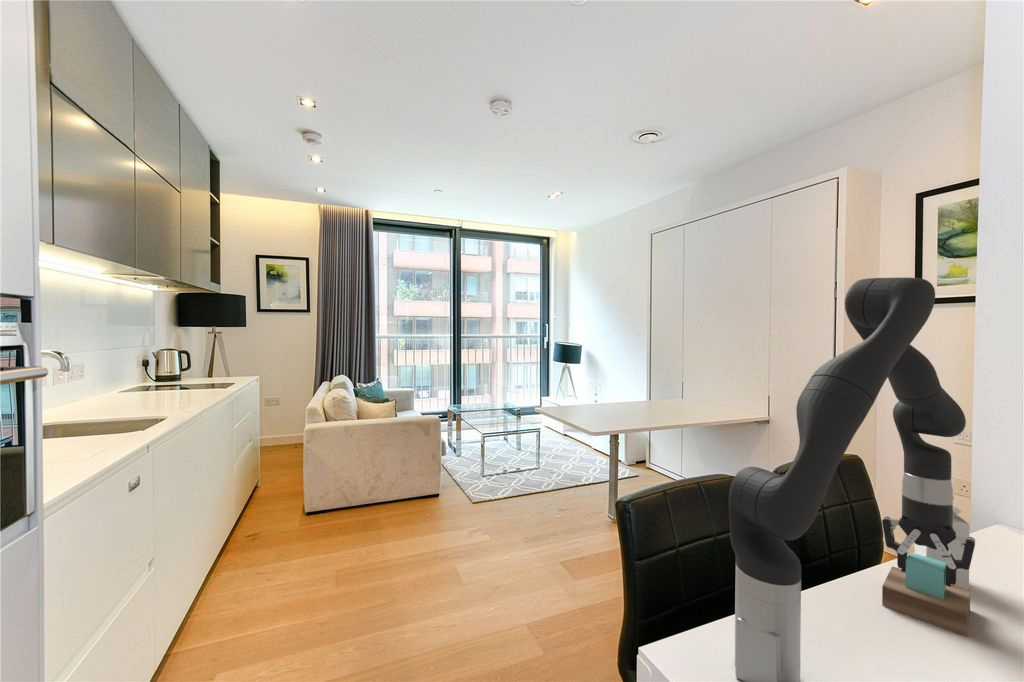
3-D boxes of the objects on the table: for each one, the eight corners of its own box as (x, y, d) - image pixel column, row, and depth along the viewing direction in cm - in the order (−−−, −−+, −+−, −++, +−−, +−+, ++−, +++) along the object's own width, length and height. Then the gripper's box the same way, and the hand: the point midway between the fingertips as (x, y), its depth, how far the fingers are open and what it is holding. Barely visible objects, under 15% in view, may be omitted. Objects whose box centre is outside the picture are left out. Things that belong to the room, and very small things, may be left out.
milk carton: (926, 583, 96) (926, 500, 96) (914, 568, 102) (914, 490, 102) (969, 592, 93) (970, 506, 93) (954, 576, 99) (955, 495, 99)
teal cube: (943, 599, 83) (943, 571, 83) (905, 586, 87) (905, 560, 87) (945, 589, 87) (946, 562, 87) (909, 577, 91) (909, 552, 91)
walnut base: (966, 636, 79) (967, 614, 79) (882, 605, 88) (882, 586, 88) (969, 609, 86) (970, 590, 86) (892, 583, 96) (892, 566, 96)
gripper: (877, 491, 90) (876, 569, 90) (977, 512, 79) (977, 601, 79) (884, 483, 95) (883, 558, 95) (979, 502, 84) (978, 586, 84)
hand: (925, 577), depth 87 cm, fingers open, 6 cm apart
